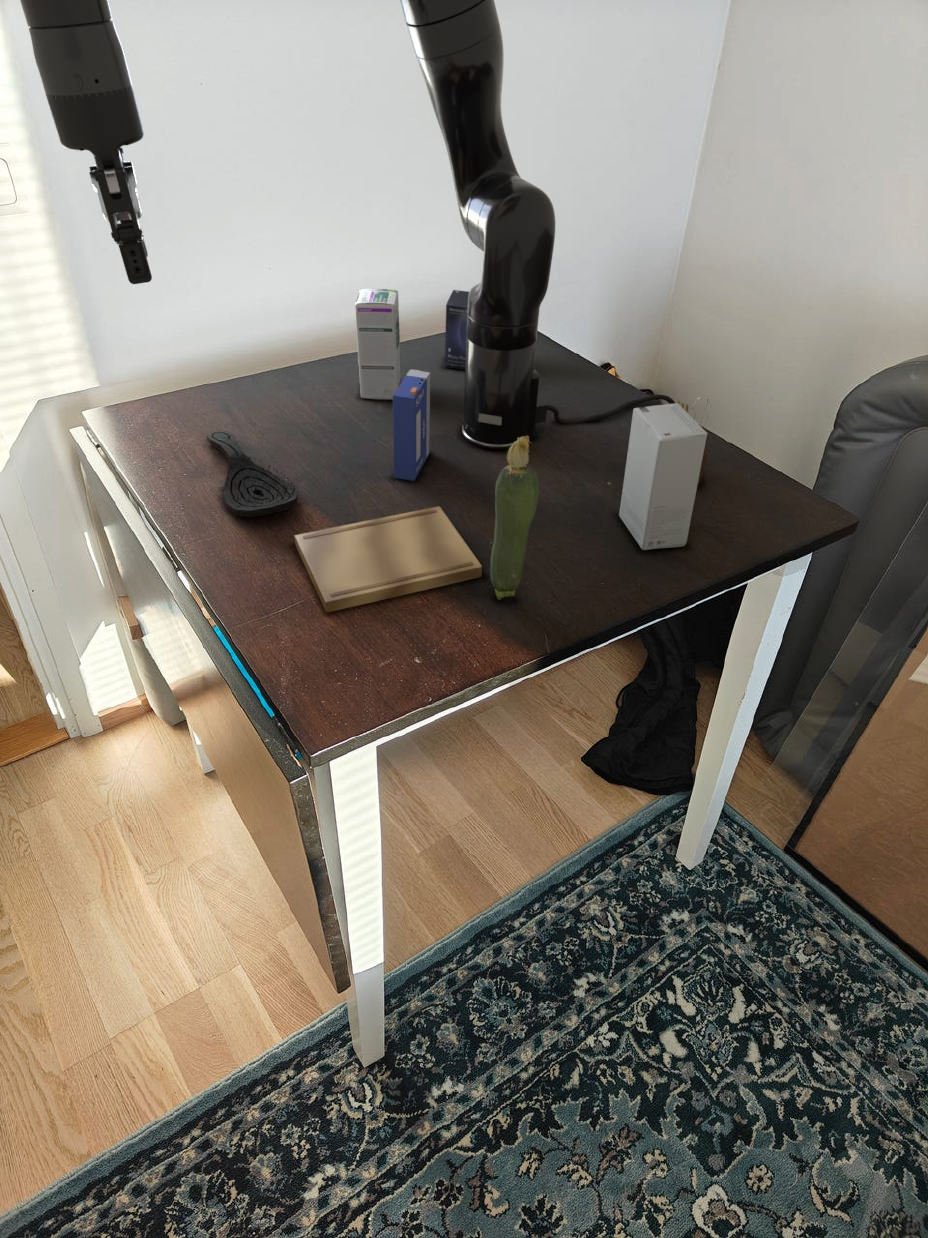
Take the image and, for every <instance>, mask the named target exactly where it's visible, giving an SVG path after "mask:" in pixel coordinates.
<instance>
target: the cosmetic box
mask: <svg viewBox="0 0 928 1238" xmlns="http://www.w3.org/2000/svg"><path fill="white" fill-rule="evenodd" d="M685 410H686V409H685V408H684V409H683V408H682V407H681V403H680V404H678V403H677V402H675V404H670V403H666V404H665V403H664V404H657V405H648V406H642V407H635V408H633V410H632V418H631V425H630V432H629V440H628V447H627V454H626V461H625V462H626V463H625V469H624V476H623V482H622V483H623V484H622V492H621V498H620V499H621V500H620V504H619V505H620V506H619V512H618V516H619V518H620V520H621V521H622V522H623V524H624V525H625V526H626V528H627V530H628V531H629V532H630V534H631V535H632V537H633V538H634V540H635V541H636V542H637V544H638V545H639V547H640V549H641V550H642V551H648V550H656V549H669V548H679V547H685V546H686V545H687V542H688V537H689V531H690V526H691V522H692V515H693V510H694V507H695V501H696V495H697V489H698V485H699V483H698V479H699V474H700V469H701V464H702V458H703V453H704V448H705V443H706V438H707V434H708V435H709V432H708V433H707V432H706V431H705V430H704V429H703V428H702V427H701V426H702V425H701V424H700V423H698V422H697V421H696V419H695V420H694V418H693V417H692V415H691V414H689V412H688V413H687V412H686V411H685ZM690 415H691V416H690ZM699 424H700V425H699Z"/></svg>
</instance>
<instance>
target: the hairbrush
mask: <svg viewBox="0 0 928 1238" xmlns="http://www.w3.org/2000/svg"><path fill="white" fill-rule="evenodd" d="M206 439H207V442H208V443H209V444H210V445H211V446H212V447H214V448H216V449H218V450H220V451H221V452H222V454H224V455H225V456H226V458H227V459H228V460H229V461H228V462H229V463H228V470H227V474H226V478H225V482H224V486H223V490H222V491H223V496H224V503H225V505H226V507H227V510H228V511H230V512H231V513H232V514H234V515H235V516H238V517H239V516H240V517H249V518H251V517H257V516H264V515H269V514H274V513H277V512H281V511H285V510H288V509H290V508H293V507H294V506H297V505H298V500H299V497H298V492H297V491H296V487H295V485H293V481H291V479H290V478H289V477H288V476H287V477H286V475H285V474H283V472H280V475H283V479H282V478H281V476H280V477H279V476H277V475H278V473H279V470H278V469H275V468H274V467H273V472H271V471H270V468H271V464H269V465H268V467H267V469H266V468H265V467H262V466H260V465H258V464H257V463H256V462H254V461H253V460H252V459H251V457H250V456H248V455H246V453H244V451H243V450H242V448H241V447H240V445H239V444H238V442H237V440H236V437H235V434H234V433H233V432H231V431H228V430H212V431H210V432H209V433H208V434H206ZM254 460H256V457H254ZM259 462H260V463H261V460H259ZM274 471H275V472H276V473H274ZM285 477H286V481H285V480H284V479H285ZM288 481H289V482H291V483H289V482H288ZM292 486H293V487H292Z"/></svg>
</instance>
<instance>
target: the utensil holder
mask: <svg viewBox="0 0 928 1238" xmlns="http://www.w3.org/2000/svg"><path fill="white" fill-rule="evenodd" d="M700 399H701V400H700ZM704 399H706V403H708V402H709V403H710V404H709V410H708V411H709V412H708V414H707V418H706V420H705V421H704V423H703V424H702V425H701V423H702V420H703V417H704V416H705V412H706V409H707V405H708V404H705V407H704V410H703V414H702V416H701V420H700V422H699V423H698V424H699V425H700V426H701V427H702V428H703V429H704V430H705V431H706V432H707V433H708V434H707V438H706V443H705V448H704V453H703V458H702V464H701V469H700V474H699V479H698V484H699V483H700V482H701V480H702V479H703V475H704V471H705V468H706V467H705V466H706V462H707V458H708V451H709V450H708V445H707V444H708V442H709V431H708V429H707V428H706V427H704V426H705V424H706V423H707V420H708V418H709V415H710V414H711V413H710V412H711V409H712V401H711V399H710V398H708V397H707V396H699V397H698V400H700V403H699V404H698V407H697V409H696V412H695V416H694V418H693V419H694V420H695V421H696V418H697V415H698V411H699V408H700V405H701V404H702V401H704ZM676 403H678V404H680V406H681V407H682V408H683V409H684V410H685V411H686V412H687V413H688V414H689V404H685V402H680V400H677V402H676ZM696 403H697V400H695V402H694V404H693V406H692V408H691V412H690V414H689V415H690V416H691V417H692V414H693V410H694V407H695V404H696Z"/></svg>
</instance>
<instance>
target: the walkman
mask: <svg viewBox="0 0 928 1238" xmlns="http://www.w3.org/2000/svg"><path fill="white" fill-rule="evenodd" d="M430 415H431V372H430V371H421V369H420V370H419V369H412V368H411V369H409V370H408V371H407V373H406V375H405V376H404V378H403V379H402V380H401V384H400V386H399V387H398V389H397V390H396V391H395V393H394V394H393V399H392V423H393V424H392V425H393V426H392V427H393V432H392V433H393V476H394V479H400V480H405V481H413V482H415V481H416V479H417V477H418V475H419V473H420V472H421V469H422V468H423V466H424V465H425V462H426V460H427V459H428V456H429V454H430V431H431V429H430V428H431V424H430V421H431V420H430V419H431V416H430Z"/></svg>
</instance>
